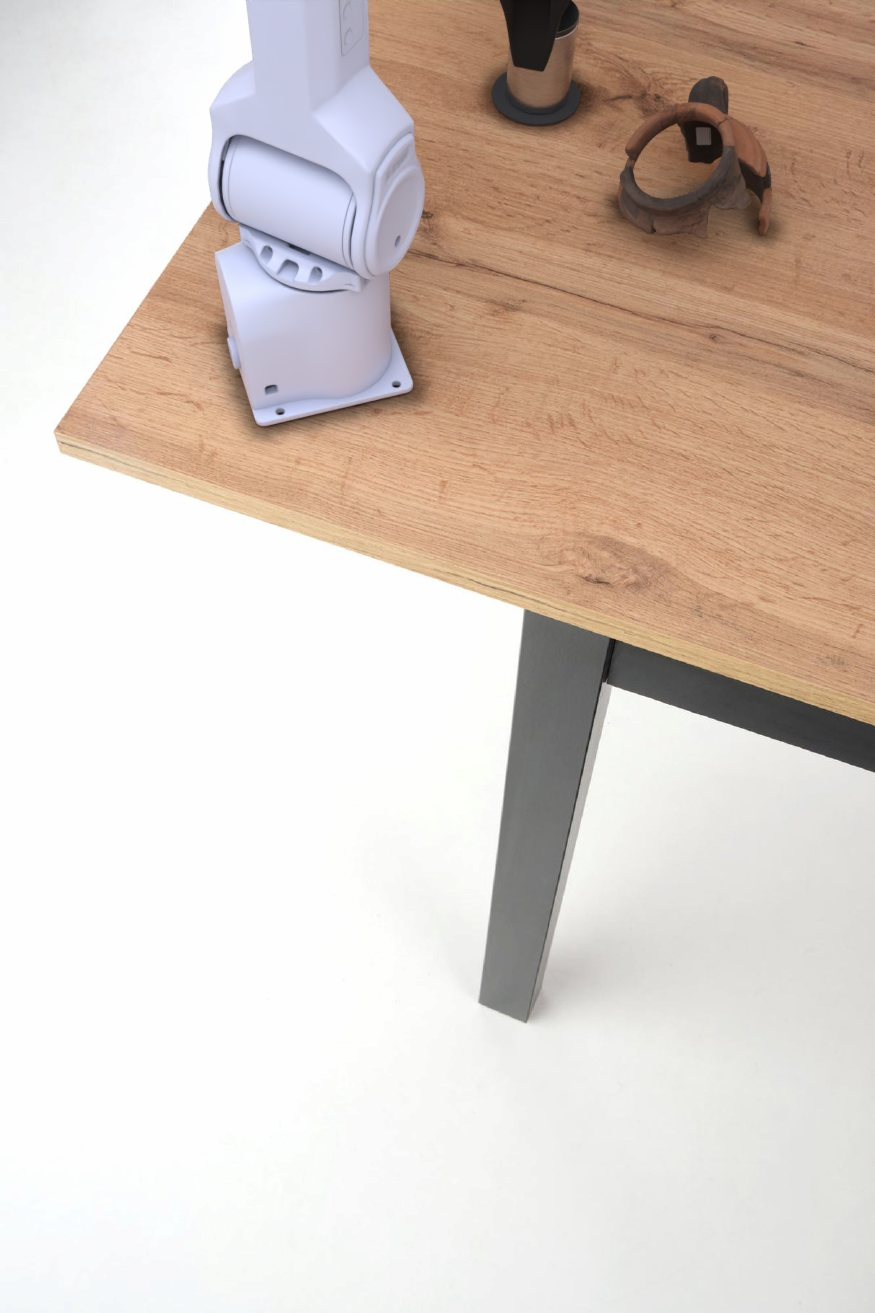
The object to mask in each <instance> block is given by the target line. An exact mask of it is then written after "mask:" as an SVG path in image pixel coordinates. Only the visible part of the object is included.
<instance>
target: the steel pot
mask: <svg viewBox="0 0 875 1313" xmlns="http://www.w3.org/2000/svg"><path fill="white" fill-rule="evenodd" d="M579 21H580V10H579V7H578V5H577V4H576V3H575V2H574V1H573V0H572V1H571V2H570V3H569V5H568V6H567V8H566V9H565V11H564V13H563V15H562V17H561V20H560V24H559V27H558V31H557V35H556V38H555V42H554V46H553V49H552V52H551V55H550V58H549V60H548V63H547V65H546V68H545V70H544V71H543V72H540V71H535V70H529V69H524V68H519V67H515V66H514V65H513V61H512V56H511V51H510V45H509V44H508V56H507V57H508V58H507V71H506V72H507V81H506V96H507V99H508V101H509V102H510V103H511V104H512V105H513V106H514V107H515V108H517V109H519V110H521V111H523V112H526V113H530V114H548V113H552V112H555V111H557V110H559V109H560V108H562V107H563V106H564V105H565V104H566V102H567V100H568V97H569V90H570V82H571V79H572V75H573V74H572V73H573V67H574V60H575V52H576V44H577V37H578V29H579Z"/></svg>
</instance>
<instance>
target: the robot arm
mask: <svg viewBox="0 0 875 1313" xmlns="http://www.w3.org/2000/svg"><path fill="white" fill-rule="evenodd" d="M571 1H573V0H499V3H500V6H501V8H502V12H503V15H504V19H505V20H504V21H505V25H506V31H507V37H508V43H509V44H508V46H509V45H510V51H511V56H512V61H513V65H514V66H515V67H519V68H524V69H529V70H535V71H540V72H543V71H544V70H545V68H546V65H547V63H548V60H549V58H550V55H551V52H552V49H553V46H554V42H555V38H556V35H557V31H558V27H559V24H560V20H561V17H562V15H563V13H564V11H565V9H566V8H567V6H568V5H569V3H570V2H571ZM245 6H246V15H247V22H248V31H249V39H250V40H249V41H250V49H251V57H252V58H251V59H252V60H249V61H248V62H247V63H244V64H243V65H241V67H239V68H238V69H237V70H236V71H235V72H233V73H232V74H231V76H230V77H228V79H227V80H226V81H225V82H224V83H223V85H222V86H221V87H220V89H219V90H218V93H217V95H215V98H214V99H213V101H212V103H211V104H210V106H209V117H210V123H211V145H210V150H209V155H208V159H207V160H208V162H207V183H208V189H209V196H210V200H211V202H212V206H213V207H214V209H215V212H216V213H217V214H218V215H219V216H220V217H221V218H223V219H224V220H226V221H229V222H231V223H238V230H239V235H240V241H238V242H236V243H233V244H232V245H230V246H228V247H225V248H223V249H220V250H217V251H215V252H214V263H215V268H216V274H217V279H218V284H219V285H218V286H219V290H220V295H221V300H222V304H223V310H224V315H225V321H226V325H227V328H226V329H227V335H228V337H227V338H226V343H227V346H228V347H227V348H228V351H229V354H230V359H231V362H232V365H233V368H234V369H235V370H239V374H240V376H241V379H242V382H243V385H244V389H245V393H246V395H247V399H248V402H249V405H250V409H251V411H252V415H253V417H254V421H255V423H256V424H257V425H258V426H261V427H267V426H272V425H275V424H280V423H284V422H289V421H293V420H298V419H301V418H306V417H310V416H314V415H319V414H323V413H327V412H332V411H335V410H341V409H345V408H348V407H353V406H357V405H361V404H364V403H370V402H374V401H377V400H381V399H386V398H390V397H394V396H398V395H403V394H407V393H410V392H412V390H413V388H414V381H413V379H412V376H411V373H410V370H409V369H408V366H407V363H406V360H405V358H404V356H403V353H402V350H401V348H400V346H399V343H398V341H397V338H396V336H395V333H394V331H393V329H392V328H393V327H392V317H391V316H392V314H391V271H392V270H394V269H395V268H396V267H397V266H398V265H399V264H400V262H402V260H403V258H404V257H406V256H405V255H406V254H407V252H408V251H409V249H410V247H411V245H412V243H413V241H414V239H415V236H416V234H417V231H418V229H419V226H420V223H421V219H422V215H423V212H424V206H425V199H426V182H425V178H424V174H423V170H422V165H421V162H420V160H419V158H418V156H417V152H416V142H415V140H416V139H415V121H414V120H413V118H412V116H411V115H410V114H409V112H408V111H407V110H406V108H405V107H404V106H403V105H402V104H401V102H400V101H399V99H397V97H396V96H395V94H393V93H392V91H391V90H390V89H389V88H388V87H387V86H386V85H385V83H384V82H383V81H382V80H381V79H380V77H379V76H378V74H377V73H376V72H375V71H374V69H373V68H372V66H371V63H370V62H371V61H370V23H369V21H370V20H369V19H370V18H369V14H370V13H369V0H245ZM395 386H398V387H395ZM280 413H281V414H280Z"/></svg>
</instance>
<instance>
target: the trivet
mask: <svg viewBox="0 0 875 1313" xmlns="http://www.w3.org/2000/svg"><path fill="white" fill-rule="evenodd" d="M506 81H507V71H505V72H504V73H502V74H500V76H498V77H497V79H495V81H494V82H493V85H492V88H491V100H492V103H493V105H494V107H495V109H496V110H497V111H498V112H499V113H500V114H501V115H502V116H504V117H505V118H506V119H508V120H510V121H513V122H515V123H518V124H521V125H525V126H530V127H531V126H532V127H547V126H554V125H557V124H559V123H562V122H564V121H567V119H570V118H571V117H572V116H573V115H574V114H575V113H576V111H577V110H578V108H579V106H580V103H581V91H580V88H579V86H578V85H577V83H576V81H575V80H574V79H573V78H571V82H570V90H569V97H568V100H567V102H566V104H565V105H564V106H563V107H562V108H560V109H559V110H557V111H555V112H552V113H548V114H530V113H526V112H523V111H521V110H519V109H517V108H515V107H514V106H513V105H512V104H511V103H510V102H509V101H508V99H507V96H506Z"/></svg>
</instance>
